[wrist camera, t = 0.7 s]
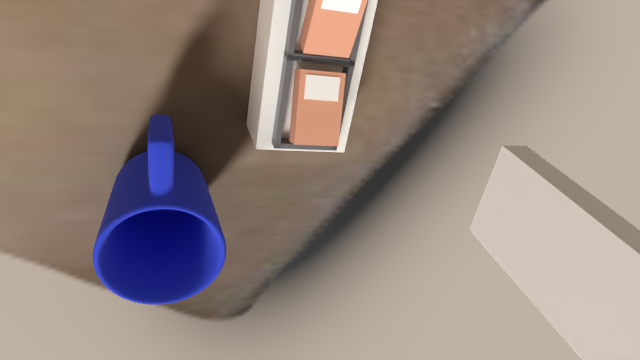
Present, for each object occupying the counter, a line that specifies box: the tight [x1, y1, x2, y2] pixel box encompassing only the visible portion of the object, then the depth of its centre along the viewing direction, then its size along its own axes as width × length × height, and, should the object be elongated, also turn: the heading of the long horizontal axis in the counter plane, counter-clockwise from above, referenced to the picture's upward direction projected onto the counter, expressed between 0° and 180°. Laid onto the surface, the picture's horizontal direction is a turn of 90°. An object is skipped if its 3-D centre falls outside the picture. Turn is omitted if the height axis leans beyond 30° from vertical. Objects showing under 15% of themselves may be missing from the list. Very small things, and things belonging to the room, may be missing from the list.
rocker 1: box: [299, 0, 368, 58], centre depth 30 cm, size 5×3×2 cm, turn 171°
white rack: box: [246, 0, 378, 152], centre depth 32 cm, size 21×7×6 cm, turn 170°
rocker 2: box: [289, 68, 346, 146], centre depth 33 cm, size 5×3×2 cm, turn 169°
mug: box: [93, 114, 226, 305], centre depth 34 cm, size 8×12×10 cm
